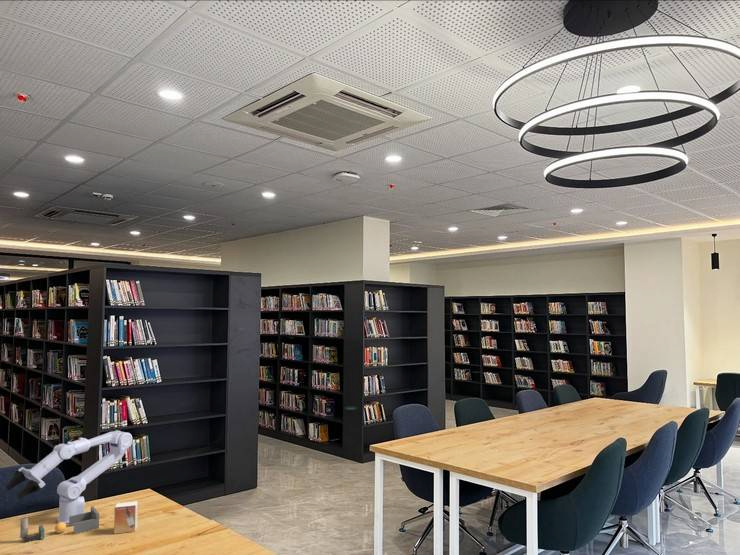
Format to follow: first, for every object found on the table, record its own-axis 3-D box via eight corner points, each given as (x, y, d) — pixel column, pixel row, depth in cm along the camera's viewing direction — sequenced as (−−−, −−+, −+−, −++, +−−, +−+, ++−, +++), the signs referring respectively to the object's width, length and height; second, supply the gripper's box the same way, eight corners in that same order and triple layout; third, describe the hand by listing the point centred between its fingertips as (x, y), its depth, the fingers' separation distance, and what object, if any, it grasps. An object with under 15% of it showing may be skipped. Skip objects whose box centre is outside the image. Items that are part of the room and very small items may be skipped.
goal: (93, 520, 232) (93, 506, 232) (98, 528, 223) (99, 513, 224) (69, 526, 227) (69, 511, 227) (74, 534, 218) (74, 518, 218)
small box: (113, 534, 217) (114, 507, 218) (116, 529, 222) (116, 502, 223) (135, 532, 219) (135, 505, 220) (137, 526, 225) (137, 500, 225)
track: (38, 536, 217) (38, 532, 217) (39, 539, 214) (39, 535, 214) (23, 539, 214) (23, 535, 214) (24, 543, 210) (24, 539, 211)
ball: (65, 529, 223) (65, 519, 223) (66, 532, 219) (67, 522, 220) (54, 532, 220) (54, 522, 220) (55, 535, 217) (55, 525, 217)
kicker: (42, 533, 219) (42, 512, 219) (44, 538, 214) (44, 516, 214) (19, 538, 214) (19, 516, 214) (21, 543, 209) (21, 521, 209)
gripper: (29, 454, 227) (-3, 479, 218) (51, 468, 221) (19, 495, 212) (36, 464, 231) (4, 489, 222) (57, 479, 225) (26, 505, 216)
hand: (12, 493), depth 217 cm, fingers open, 7 cm apart
